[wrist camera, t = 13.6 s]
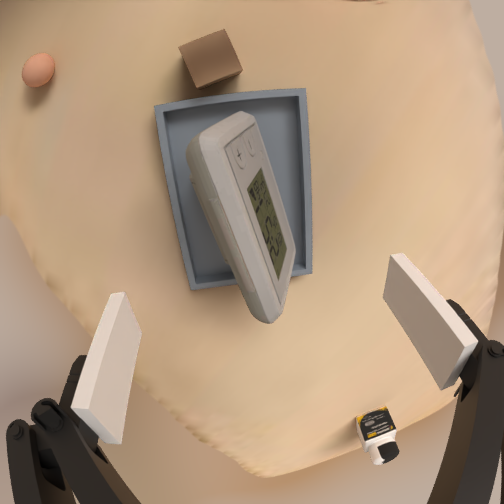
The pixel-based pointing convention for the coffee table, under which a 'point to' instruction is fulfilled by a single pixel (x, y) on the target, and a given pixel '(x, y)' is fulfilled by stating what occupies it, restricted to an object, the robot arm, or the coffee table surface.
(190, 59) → the walnut cube
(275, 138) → the tray
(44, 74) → the terracotta ball
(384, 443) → the medicine bottle
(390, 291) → the robot arm
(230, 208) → the digital clock
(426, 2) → the coffee table surface
